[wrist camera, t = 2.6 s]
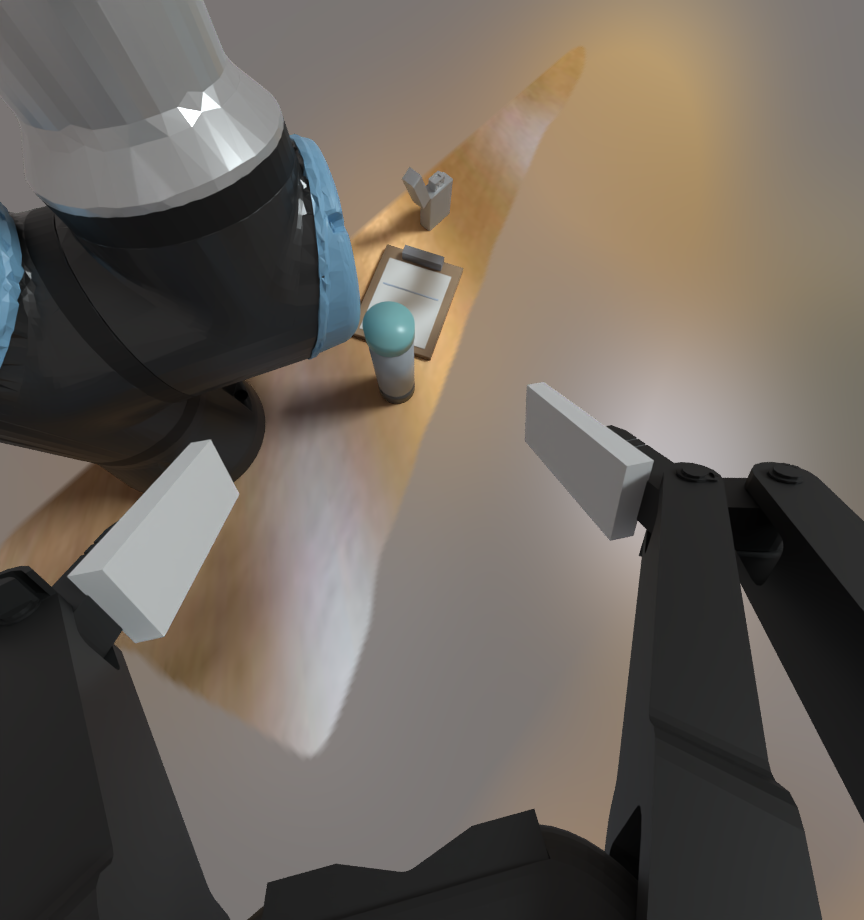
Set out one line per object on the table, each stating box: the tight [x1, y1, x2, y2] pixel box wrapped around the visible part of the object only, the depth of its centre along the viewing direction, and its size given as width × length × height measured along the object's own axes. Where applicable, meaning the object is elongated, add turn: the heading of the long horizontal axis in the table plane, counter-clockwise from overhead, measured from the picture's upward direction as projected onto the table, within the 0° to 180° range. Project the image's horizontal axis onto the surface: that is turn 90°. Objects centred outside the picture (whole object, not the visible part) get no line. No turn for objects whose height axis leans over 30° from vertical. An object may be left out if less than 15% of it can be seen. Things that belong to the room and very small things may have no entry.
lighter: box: [402, 167, 453, 231], centre depth 41 cm, size 7×2×8 cm, turn 139°
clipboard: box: [353, 245, 463, 360], centre depth 41 cm, size 10×13×2 cm
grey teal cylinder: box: [362, 301, 415, 404], centre depth 33 cm, size 4×4×12 cm
